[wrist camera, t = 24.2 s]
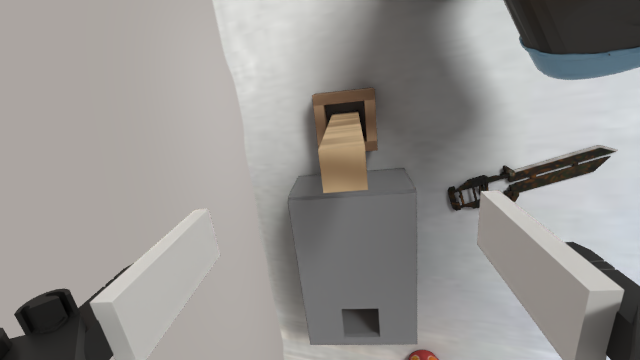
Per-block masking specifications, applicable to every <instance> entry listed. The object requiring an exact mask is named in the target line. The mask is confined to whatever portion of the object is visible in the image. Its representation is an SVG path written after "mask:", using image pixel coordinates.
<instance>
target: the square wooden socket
mask: <svg viewBox="0 0 640 360" xmlns="http://www.w3.org/2000/svg"><path fill="white" fill-rule="evenodd" d="M312 98H313V107H314V116H315V125H316V133H317V142H318V149H319V147H320V144H321V142H322V139H323V137H324V134H325V131H326V129H327V126H328V122H327V112H326V105H328V104H338V103H347V102H357V101H364V116H365V132H366V136H363V139H364V144H365V151H374V150H378V148H377V128H376V107H375V89H374V88H373V87H372V88H363V89H354V90H345V91H336V92H326V93H317V94H314V95H312Z"/></svg>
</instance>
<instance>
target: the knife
mask: <svg viewBox="0 0 640 360" xmlns="http://www.w3.org/2000/svg"><path fill="white" fill-rule="evenodd" d="M616 151H618V150H616V149H612V148H608V147H605V146H601V145H597V146H594V147H590V148H587V149H583V150H580V151H577V152H573V153H570V154H567V155H563V156H560V157H556V158H553V159H550V160H546V161H543V162H540V163H536V164H533V165H529V166H526V167H523V168H519V169H516V170H512V169H510V168H509V167H507V166H503V169H504V172H502V174H500V176H497V175H495V176H491V177H487V176H485V175H482V176H479V177H476V178H472V179H469V180H467V181H468V182H466V183H464V185H462V186H460V187H459V188H458V189H456V190H455V187H454V186H453V187H450V188H449V189H448V192H449V198H450V201H451V204H452V207H453V209H454V210H456V211H457V210H461V208H463V207H473V209H474V208H479V207H480V200H478V201H477V197H476V193H475V188H474V187H477V186H479V194H481V188H482V191H485V190H486V191H488V183H489V182H493V181H496V180H499V179H503V178H508V181H509V182H513V181H516V180H519V179H523V178H526V177H530V179H527V180H523V181H520V182H516V183H515V184H512V185H509V187H510V190H509V191H507V190H506V191H504V193H503V194H504V195H505V196H506V195H507V197H509V198H510V200H512V201H513V202H515V201H516V200H517V198H518V197H519V192H523V191H526V190H530V189H533V188H537V187H540V186H544V185H548V184H551V183H555V182H558V181H562V180H565V179H569V178H572V177H576V176H580V175H583V174H587V173H590V172H594V171H595V170H596V169H597V168H598V167H599V166H601V165H602V164H603V163H604V162H605V161H606V160H607V159H608V158H610V157H611V156H607V157H603V158H600V159H596V160H593V161H589V162H586V163H582V164H579V165H578V162H582V161H585V160H589V159H592V158H596V157H599V156H602V155H606V154H609V153H613V152H616ZM571 164H573V166H572V167H568V168H565V169H561V170H558V171H554V172H551V173H548V174H544V175H541V176H537V177H536V175H537V174H540V173H544V172H547V171H551V170H554V169H557V168H561V167H564V166H568V165H571ZM483 185H484V186H485V190H484V187H483ZM469 188H472V190H473V194H474V198H475V201H474V202H471V203H467V204H464V200H463V196H462V192H461V191H462V190H465V189H469ZM458 191H459V194H460V195H459V197H460V198H461V202H462V205H460V203H459V202H457V201H456V198H455V195H454V193H455V192H458Z"/></svg>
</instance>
